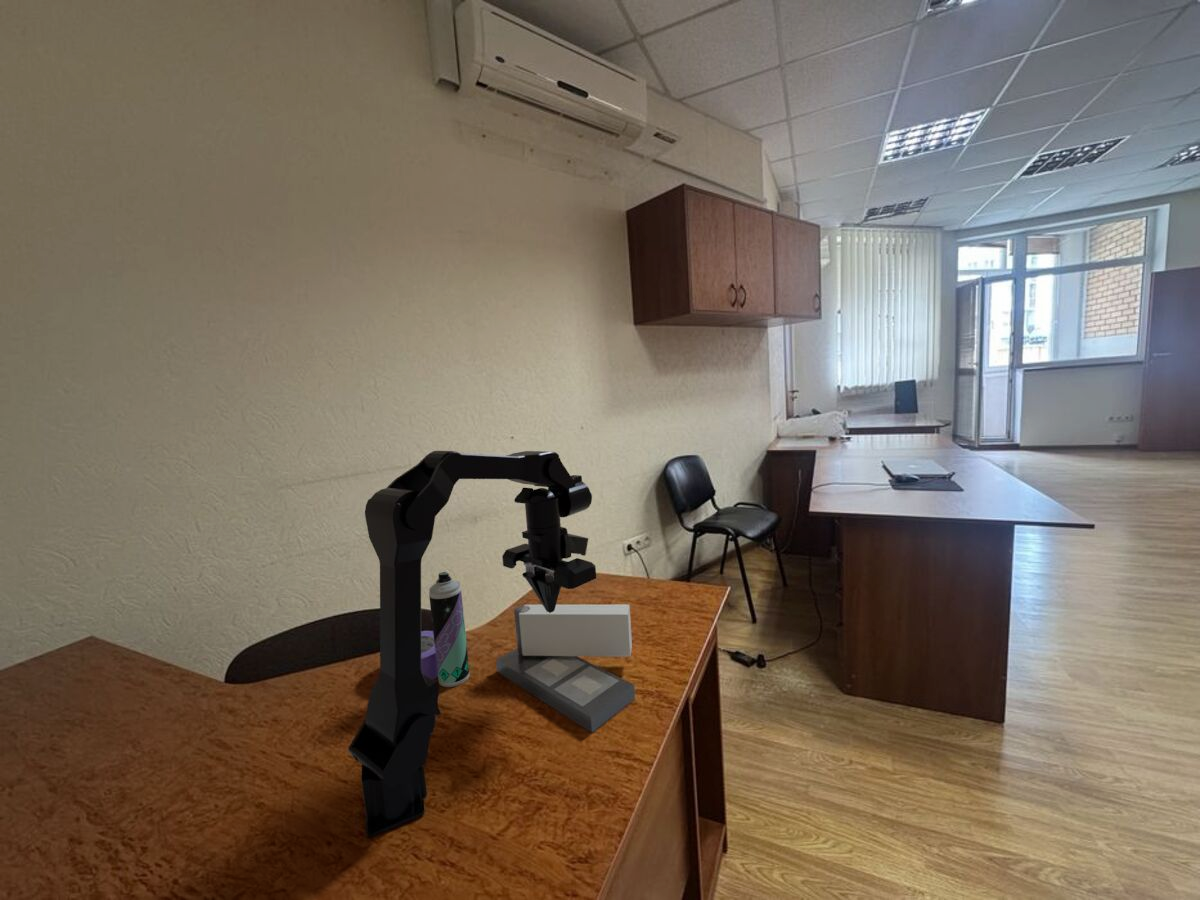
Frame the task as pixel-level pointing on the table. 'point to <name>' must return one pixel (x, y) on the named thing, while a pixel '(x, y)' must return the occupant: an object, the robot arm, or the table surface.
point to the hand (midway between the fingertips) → (550, 611)
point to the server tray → (569, 686)
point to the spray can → (449, 631)
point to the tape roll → (428, 655)
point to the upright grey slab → (574, 630)
